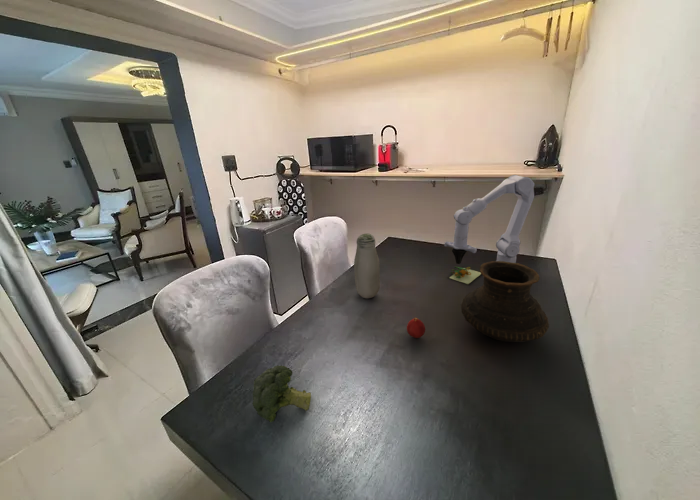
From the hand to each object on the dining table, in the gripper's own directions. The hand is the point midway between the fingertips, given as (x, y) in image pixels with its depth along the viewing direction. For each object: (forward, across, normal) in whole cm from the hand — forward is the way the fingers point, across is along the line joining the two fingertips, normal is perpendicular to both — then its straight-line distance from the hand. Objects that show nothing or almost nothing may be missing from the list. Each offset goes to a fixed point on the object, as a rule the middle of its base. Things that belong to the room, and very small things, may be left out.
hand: (458, 263), depth 124 cm
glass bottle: (+6, -18, -43) cm, 47 cm away
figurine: (+3, -2, 0) cm, 4 cm away
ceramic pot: (+6, +30, -30) cm, 43 cm away
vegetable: (+6, +3, -95) cm, 95 cm away
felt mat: (+5, +4, 0) cm, 7 cm away
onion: (+6, +12, -51) cm, 53 cm away
